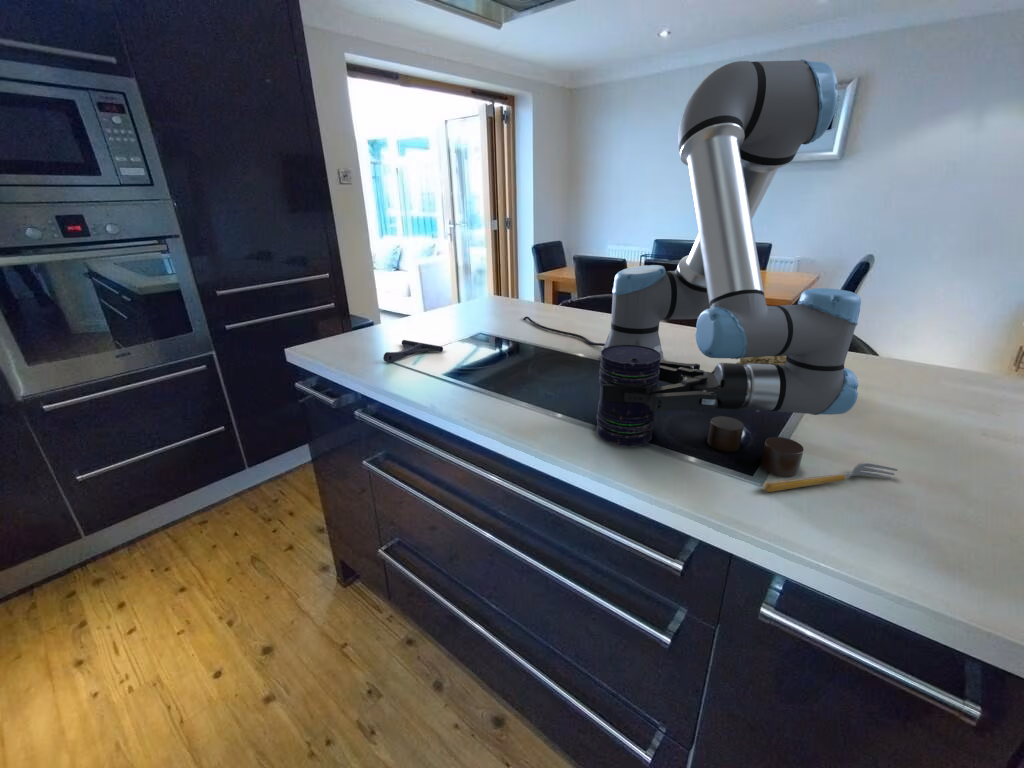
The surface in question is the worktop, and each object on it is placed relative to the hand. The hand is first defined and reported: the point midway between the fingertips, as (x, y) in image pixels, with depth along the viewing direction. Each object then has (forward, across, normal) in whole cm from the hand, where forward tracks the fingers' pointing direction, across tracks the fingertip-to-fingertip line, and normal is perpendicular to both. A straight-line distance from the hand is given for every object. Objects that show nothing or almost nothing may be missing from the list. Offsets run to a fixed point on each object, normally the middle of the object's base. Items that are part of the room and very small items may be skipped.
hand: (602, 379), depth 76 cm
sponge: (-40, +27, -10) cm, 49 cm away
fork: (-32, -11, -10) cm, 36 cm away
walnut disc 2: (-27, -8, -10) cm, 30 cm away
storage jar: (-4, 0, -10) cm, 11 cm away
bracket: (+53, +36, -10) cm, 64 cm away
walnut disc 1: (-21, -2, -10) cm, 23 cm away
